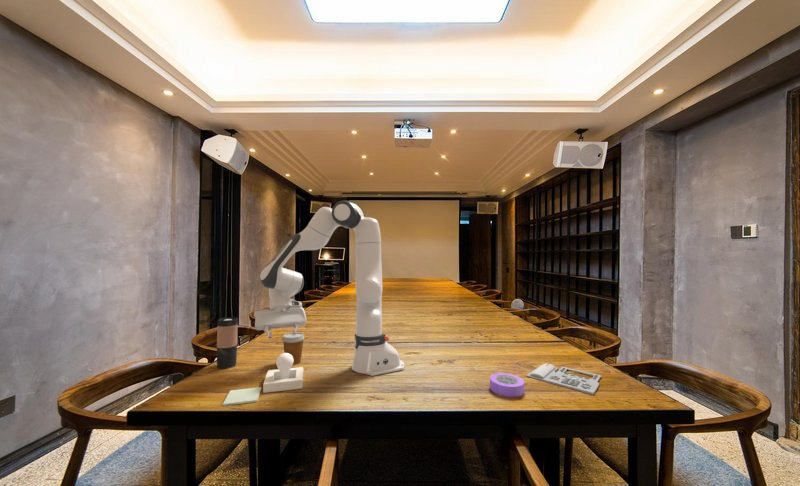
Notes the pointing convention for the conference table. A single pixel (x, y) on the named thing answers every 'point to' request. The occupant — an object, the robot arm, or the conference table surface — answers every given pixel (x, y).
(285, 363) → the lightbulb
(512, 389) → the masking tape
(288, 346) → the disposable coffee cup
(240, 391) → the pad
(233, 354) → the travel mug
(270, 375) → the block
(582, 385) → the office telephone
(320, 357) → the conference table surface
